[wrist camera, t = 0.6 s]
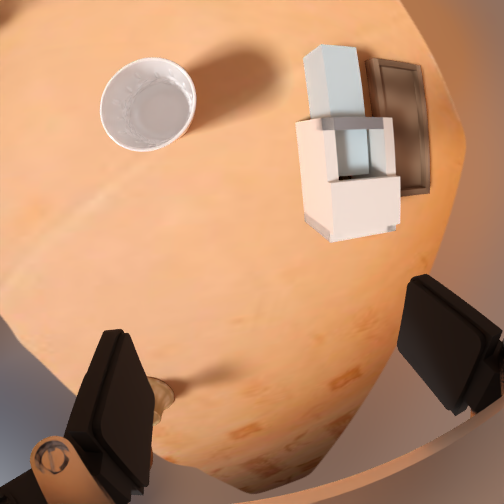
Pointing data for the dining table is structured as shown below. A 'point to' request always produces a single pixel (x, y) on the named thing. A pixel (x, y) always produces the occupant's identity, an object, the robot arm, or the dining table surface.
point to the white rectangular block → (338, 101)
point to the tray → (403, 119)
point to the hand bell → (160, 401)
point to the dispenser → (348, 191)
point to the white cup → (148, 104)
